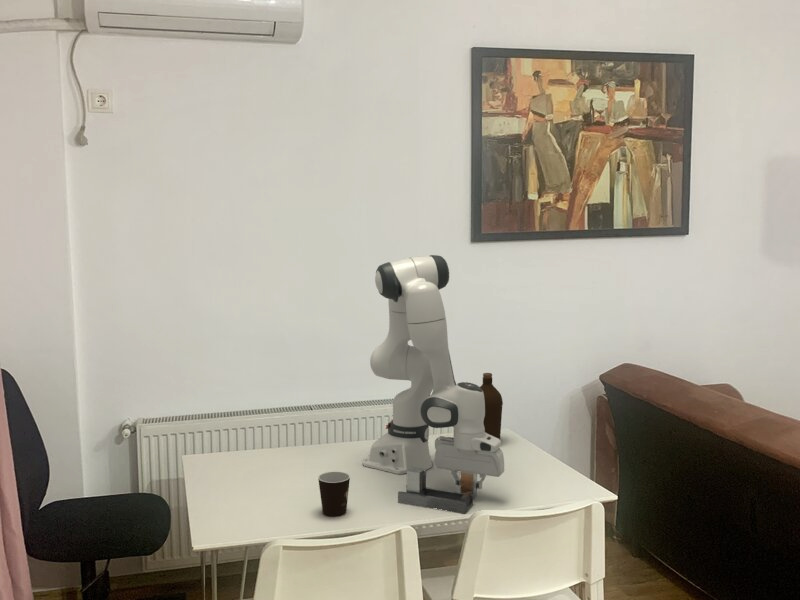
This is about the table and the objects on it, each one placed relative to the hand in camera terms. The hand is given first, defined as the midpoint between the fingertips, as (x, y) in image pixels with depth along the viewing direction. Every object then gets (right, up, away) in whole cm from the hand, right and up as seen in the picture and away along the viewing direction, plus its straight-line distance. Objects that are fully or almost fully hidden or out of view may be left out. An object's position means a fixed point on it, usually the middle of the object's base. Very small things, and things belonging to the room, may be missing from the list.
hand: (468, 486), depth 220 cm
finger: (0, -3, 0) cm, 3 cm away
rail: (-10, -4, -5) cm, 11 cm away
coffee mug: (-37, -5, -9) cm, 38 cm away
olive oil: (+11, +3, +50) cm, 52 cm away
